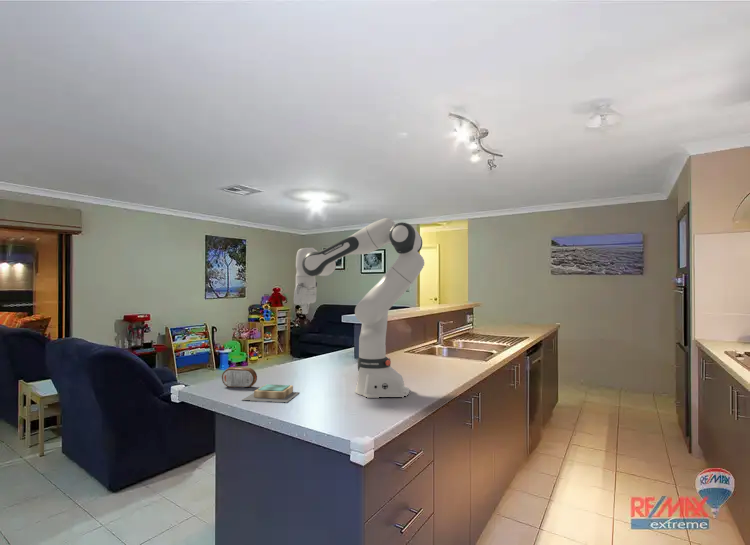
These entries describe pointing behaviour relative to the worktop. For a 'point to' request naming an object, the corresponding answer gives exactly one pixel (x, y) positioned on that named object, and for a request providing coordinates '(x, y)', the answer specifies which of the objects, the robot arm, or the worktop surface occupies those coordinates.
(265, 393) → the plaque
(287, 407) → the worktop surface
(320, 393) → the worktop surface
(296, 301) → the robot arm
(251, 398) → the mat
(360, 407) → the worktop surface
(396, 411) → the worktop surface
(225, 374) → the bluetooth speaker
